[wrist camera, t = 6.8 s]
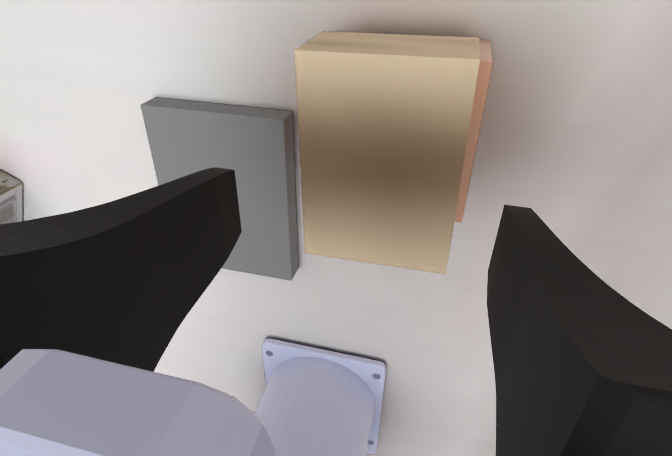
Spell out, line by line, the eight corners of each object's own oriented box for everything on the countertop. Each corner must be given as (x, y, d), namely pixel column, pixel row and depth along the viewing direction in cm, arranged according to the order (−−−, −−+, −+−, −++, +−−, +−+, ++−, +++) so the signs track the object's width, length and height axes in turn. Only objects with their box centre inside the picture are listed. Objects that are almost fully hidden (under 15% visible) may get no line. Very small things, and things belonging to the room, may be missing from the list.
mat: (298, 267, 26) (291, 280, 25) (186, 248, 27) (175, 259, 26) (292, 111, 21) (283, 119, 20) (155, 97, 22) (140, 104, 21)
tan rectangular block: (449, 227, 18) (445, 274, 15) (326, 212, 19) (304, 253, 16) (479, 37, 14) (480, 59, 12) (323, 31, 15) (294, 50, 13)
